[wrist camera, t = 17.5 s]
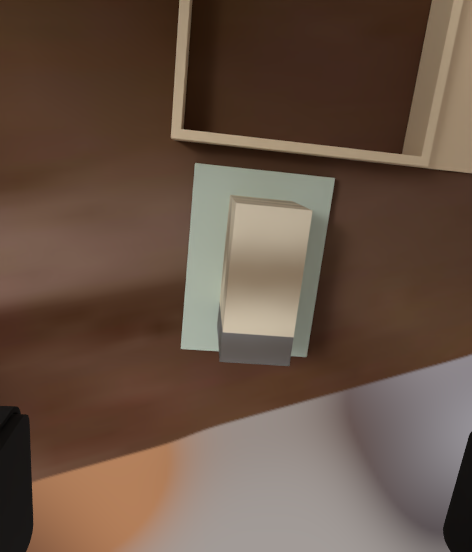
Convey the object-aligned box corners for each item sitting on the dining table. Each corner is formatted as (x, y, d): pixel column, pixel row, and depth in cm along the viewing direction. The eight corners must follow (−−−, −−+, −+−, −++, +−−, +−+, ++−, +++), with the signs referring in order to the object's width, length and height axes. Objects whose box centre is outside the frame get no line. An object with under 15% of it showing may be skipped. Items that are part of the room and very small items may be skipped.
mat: (195, 163, 30) (195, 163, 29) (331, 177, 31) (335, 178, 30) (181, 343, 34) (180, 348, 33) (303, 351, 35) (306, 357, 34)
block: (230, 194, 30) (236, 202, 24) (292, 201, 31) (312, 210, 25) (217, 326, 33) (219, 361, 27) (274, 330, 33) (289, 366, 27)
